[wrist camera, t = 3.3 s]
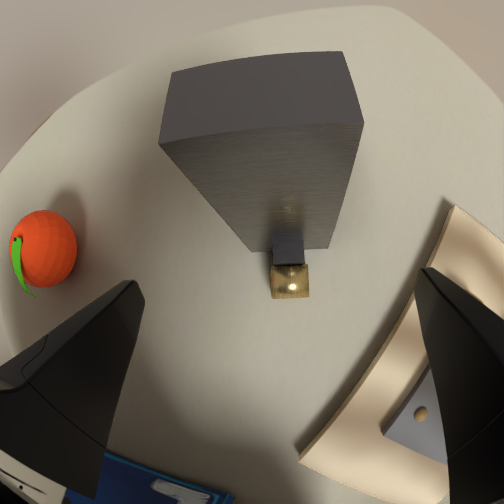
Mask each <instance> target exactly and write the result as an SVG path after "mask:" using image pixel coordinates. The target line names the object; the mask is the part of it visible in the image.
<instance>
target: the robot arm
mask: <svg viewBox="0 0 504 504" xmlns="http://www.w3.org/2000/svg"><path fill="white" fill-rule="evenodd" d="M414 297H415V301H416V306H417V311H418V316H419V321H420V327H421V332H422V337H423V341H424V345H425V349H426V352H427V356H428V360H429V364H430V368H431V372H432V376H433V380H434V385H435V389H436V394H437V399H438V404H439V409H440V414H441V420H442V426H443V432H444V439H445V446H446V454H447V465H448V476H449V491H450V504H504V320H503V319H502V318H501V317H500V316H498V315H497V314H496V313H495V312H493V311H492V310H491V309H490V308H488V307H487V306H486V305H484V304H483V303H482V302H480V301H479V300H478V299H476V298H475V297H474V296H472V295H471V294H470V293H468V292H467V291H466V290H464V289H463V288H462V287H460V286H459V285H457V284H456V283H455V282H453V281H452V280H450V279H449V278H448V277H446V276H445V275H443V274H442V273H440V272H439V271H437V270H436V269H435V268H433V267H423V268H420V270H419V272H418V276H417V280H416V284H415V289H414ZM144 306H145V300H144V297H143V294H142V292H141V290H140V288H139V285H138V283H137V282H136V281H135V280H124V281H122V282H121V283H119V284H118V285H116V286H115V287H113V288H112V289H110V290H109V291H108V292H106V293H105V294H103V295H102V296H100V297H99V298H97V299H96V300H94V301H93V302H92V303H90V304H89V305H87V306H86V307H84V308H83V309H81V310H80V311H79V312H77V313H76V314H74V315H73V316H72V317H70V318H69V319H67V320H66V321H65V322H63V323H62V324H60V325H59V326H58V327H56V328H55V329H53V330H52V331H51V332H49V334H47V335H45V336H44V337H42V338H41V339H40V340H38V341H37V342H36V343H34V344H33V345H31V346H30V347H29V348H27V349H26V350H24V351H23V352H21V353H20V354H18V355H17V356H15V357H14V358H12V359H11V360H9V361H8V362H6V363H5V364H3V365H2V366H0V504H72V503H71V500H70V498H69V497H67V496H65V495H66V492H67V489H70V490H72V491H74V492H76V493H79V494H81V495H83V496H86V497H88V498H91V499H93V500H95V497H96V492H97V487H98V482H99V477H100V472H101V468H102V463H103V459H104V454H105V450H106V449H105V448H106V445H107V441H108V437H109V433H110V429H111V425H112V421H113V418H114V414H115V410H116V407H117V403H118V400H119V396H120V393H121V389H122V386H123V382H124V379H125V376H126V373H127V369H128V366H129V363H130V360H131V357H132V354H133V351H134V347H135V344H136V340H137V336H138V332H139V327H140V323H141V319H142V315H143V311H144Z"/></svg>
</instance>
